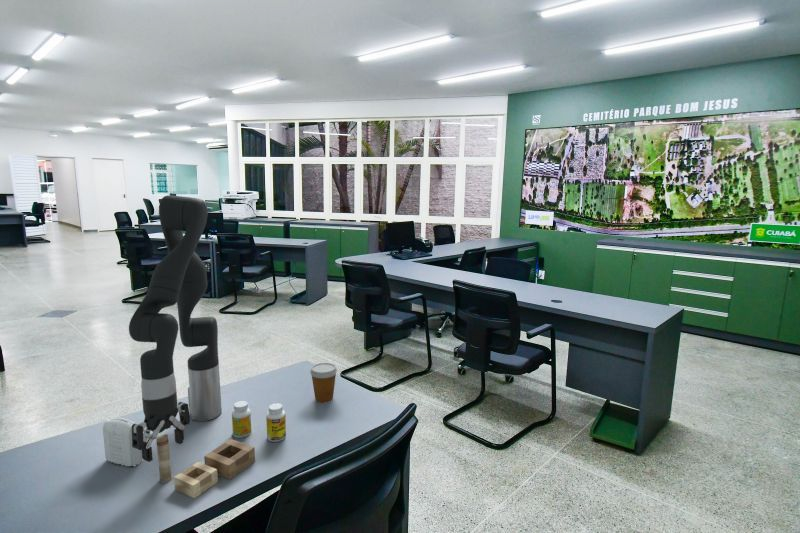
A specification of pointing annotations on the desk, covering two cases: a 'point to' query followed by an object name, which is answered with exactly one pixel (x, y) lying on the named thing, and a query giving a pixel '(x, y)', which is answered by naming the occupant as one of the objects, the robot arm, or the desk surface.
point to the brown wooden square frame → (230, 458)
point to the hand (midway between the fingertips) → (164, 451)
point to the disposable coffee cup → (323, 381)
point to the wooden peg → (163, 457)
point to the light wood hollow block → (195, 479)
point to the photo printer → (120, 442)
